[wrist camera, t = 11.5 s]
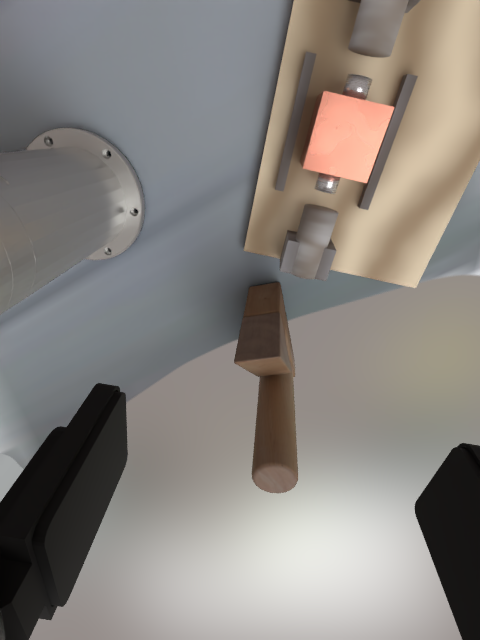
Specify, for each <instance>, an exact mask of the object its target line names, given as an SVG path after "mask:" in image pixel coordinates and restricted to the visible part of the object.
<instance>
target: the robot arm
mask: <svg viewBox="0 0 480 640" xmlns="http://www.w3.org/2000/svg"><path fill="white" fill-rule="evenodd" d="M52 140H53V142H52ZM109 151H110V152H111V156H110V155H109V153H108V152H109ZM135 208H136V209H137V210H138V213H137V212H136V211H135ZM144 216H145V202H144V195H143V191H142V187H141V184H140V181H139V179H138V177H137V175H136V173H135V171H134V169H133V168H132V166H131V165H130V163H129V161H128V160H127V159H126V158H125V156H124V155H123V154H122V153H121V152H120V151H119V150H118V149H117V148H116V147H115V146H113V145H112V144H111V143H110V142H108V141H107V140H106V139H104V138H102V137H100V136H98V135H97V134H95V133H92V132H89V131H86V130H83V129H76V128H57V129H53V130H49V131H46V132H44V133H42V134H41V135H39V136H37V137H36V138H35V139H34V140H33V141H32V142H31V143H30V144H29V145H28V147H27V149H26V150H25V151H14V152H3V153H0V315H1V314H2V313H4V312H5V311H7V310H8V309H10V308H11V307H13V306H14V305H16V304H18V303H19V302H21V301H22V300H24V299H25V298H27V297H28V296H30V295H31V294H33V293H34V292H36V291H37V290H39V289H40V288H42V287H43V286H45V285H46V284H48V283H49V282H51V281H52V280H54V279H55V278H57V277H58V276H60V275H61V274H63V273H64V272H66V271H67V270H69V269H70V268H72V267H73V266H75V265H76V264H78V263H79V262H81V261H82V260H84V259H88V260H105V259H109V258H112V257H115V256H117V255H119V254H121V253H123V252H124V251H125V250H126V249H128V248H129V247H130V246H131V245H132V244H133V243H134V241H135V240H136V239H137V237H138V235H139V233H140V232H141V229H142V226H143V222H144ZM110 249H111V250H110ZM126 423H127V422H126V395H125V393H123V392H120V388H119V386H113V385H107V384H101V383H98V384H96V385H95V386H94V388H93V389H92V391H91V392H90V394H89V395H88V396H87V398H86V399H85V401H84V402H83V404H82V405H81V407H80V408H79V410H78V411H77V413H76V414H75V416H74V417H73V419H72V420H71V422H70V423H69V425H68V426H67V427H57V428H55V429H54V430H53V431H52V432H51V433H50V434H49V435H48V437H47V438H46V440H45V441H44V442H43V444H42V445H41V447H40V448H39V449H38V451H37V452H36V454H35V455H34V456H33V458H32V459H31V460H30V462H29V463H28V465H27V466H26V467H25V469H24V470H23V472H22V473H21V474H20V476H19V477H18V479H17V480H16V481H15V483H14V484H13V486H12V487H11V488H10V490H9V491H8V493H7V494H6V495H5V497H4V498H3V500H2V501H1V502H0V640H29V638H30V636H31V634H32V631H33V629H34V627H35V625H36V623H37V621H38V619H39V618H40V619H46V620H51V619H52V617H53V615H54V612H55V610H56V608H57V606H61V607H63V606H64V605H65V604H66V602H67V600H68V598H69V596H70V594H71V592H72V589H73V587H74V585H75V583H76V580H77V578H78V575H79V573H80V571H81V568H82V566H83V564H84V561H85V559H86V557H87V554H88V552H89V550H90V547H91V545H92V543H93V540H94V538H95V536H96V533H97V531H98V529H99V526H100V524H101V522H102V519H103V517H104V515H105V512H106V510H107V508H108V505H109V503H110V501H111V498H112V496H113V493H114V491H115V489H116V486H117V484H118V482H119V480H120V477H121V475H122V472H123V470H124V468H125V465H126V461H127V455H128V452H127V424H126ZM415 514H416V517H417V519H418V522H419V525H420V528H421V530H422V533H423V536H424V538H425V541H426V544H427V546H428V549H429V552H430V554H431V557H432V560H433V562H434V565H435V568H436V570H437V573H438V576H439V578H440V581H441V584H442V586H443V589H444V591H445V594H446V597H447V600H448V602H449V605H450V608H451V610H452V613H453V616H454V618H455V621H456V624H457V626H458V629H459V632H460V634H461V637H462V639H463V640H480V446H478V445H472V444H466V443H462V444H460V445H459V446H458V447H455V448H453V449H452V450H451V452H450V453H449V455H448V456H447V458H446V459H445V461H444V462H443V463H442V465H441V466H440V468H439V469H438V471H437V472H436V474H435V475H434V477H433V478H432V479H431V481H430V482H429V484H428V485H427V487H426V488H425V490H424V491H423V492H422V494H421V495H420V497H419V498H418V500H417V501H416V503H415Z"/></svg>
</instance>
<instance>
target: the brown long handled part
mask: <svg viewBox="0 0 480 640" xmlns="http://www.w3.org/2000/svg"><path fill="white" fill-rule="evenodd" d="M234 363H235V364H237V365H239V366H241V367H242V368H244V369H246V370H247V371H249V372H251V373H253V374H254V375H256V376H258V377H260V382H259V394H258V395H259V396H258V406H257V418H256V430H255V442H254V454H253V466H252V479H253V481H254V483H255V484H256V486H258V487H259V488H260V489H262V490H264V491H267V492H270V493H283V492H287V491H289V490H291V489H292V488H294V487H295V485H296V483H297V481H298V466H297V445H296V426H295V405H294V385H293V377H295V364H294V356H293V350H292V344H291V339H290V334H289V328H288V322H287V317H286V313H285V306H284V301H283V295H282V290H281V285H280V283H279V282H276V283H270V284H264V285H258V286H252V287H250V288H249V291H248V296H247V301H246V306H245V311H244V316H243V319H242V324H241V329H240V334H239V339H238V344H237V349H236V354H235V359H234Z"/></svg>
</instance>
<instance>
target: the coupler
mask: <svg viewBox="0 0 480 640" xmlns="http://www.w3.org/2000/svg"><path fill="white" fill-rule="evenodd" d="M371 82H372V79H371V78H369V77H366V76H362V75H356V74H348V76H347V79H346V83H345V86H344V90H343V93H342V95H340V94H336V93H332V92H327V91H323V92H322V93H321V94H319V95H318V96H317V99H316V103H315V106H314V110H313V114H312V118H311V122H310V125H309V129H308V133H307V137H306V141H305V144H304V148H303V152H302V156H301V160H300V164H301V166H302V168H303V169H307V170H312V171H316V172H319V175H318V178H317V181H316V185H315V188H314V189H316V190H318V191H321V192H325V193H330V194H335V193H336V190H337V187H338V184H339V181H340V178H341V177H342V178H346V179H351V180H355V181H359V182H364V183H367V181H368V179H369V176H370V173H371V170H372V168H373V165H374V162H375V159H376V157H377V154H378V151H379V148H380V146H381V143H382V140H383V138H384V135H385V132H386V129H387V127H388V124H389V121H390V118H391V116H392V113H393V110H394V107H392V106H388V105H383V104H379V103H375V102H371V101H366V98H367V95H368V92H369V89H370V86H371Z"/></svg>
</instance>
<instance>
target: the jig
mask: <svg viewBox="0 0 480 640" xmlns="http://www.w3.org/2000/svg"><path fill="white" fill-rule="evenodd" d="M348 74H356V75H362V76H366V77H369V78H371V79H372V82H371V86H370V89H369V92H368V95H367V98H366V101H371V102H375V103H379V104H383V105H388V106H392V107H394V110H393V113H392V116H391V118H390V121H389V124H388V127H387V129H386V132H385V135H384V138H383V140H382V143H381V146H380V148H379V151H378V154H377V157H376V159H375V162H374V165H373V168H372V170H371V173H370V176H369V179H368V181H367V183H364V182H359V181H355V180H351V179H346V178H342V177H341V178H340V181H339V184H338V187H337V190H336V193H335V194H330V193H325V192H321V191H318V190H316V189H314V188H315V185H316V181H317V178H318V175H319V172H316V171H312V170H307V169H303V168H302V166H301V164H300V160H301V156H302V152H303V148H304V144H305V141H306V137H307V133H308V129H309V125H310V122H311V118H312V114H313V110H314V106H315V103H316V99H317V96H318V95H319V94H321V93H322V92H323V91H327V92H332V93H336V94H340V95H342V93H343V90H344V86H345V83H346V79H347V76H348ZM479 160H480V0H294V2H293V7H292V12H291V17H290V22H289V27H288V32H287V37H286V42H285V47H284V52H283V57H282V62H281V67H280V72H279V77H278V82H277V87H276V92H275V97H274V102H273V107H272V112H271V117H270V122H269V127H268V132H267V137H266V142H265V147H264V152H263V157H262V162H261V167H260V172H259V177H258V182H257V187H256V192H255V197H254V202H253V207H252V212H251V217H250V222H249V227H248V232H247V237H246V242H245V247H244V251H247V252H252V253H256V254H261V255H266V256H270V257H275V258H279V259H280V271H281V272H286V273H291V274H293V275H295V276H297V277H300V278H305V279H318V280H323V281H326V280H327V277H328V274H329V271H330V270H334V271H339V272H344V273H348V274H353V275H357V276H362V277H367V278H371V279H376V280H380V281H385V282H390V283H394V284H399V285H403V286H408V287H413V288H416V286H417V284H418V282H419V280H420V278H421V276H422V274H423V272H424V270H425V268H426V266H427V264H428V262H429V260H430V258H431V256H432V254H433V252H434V250H435V248H436V246H437V244H438V242H439V240H440V238H441V236H442V234H443V232H444V230H445V228H446V226H447V224H448V222H449V220H450V218H451V216H452V214H453V212H454V210H455V208H456V206H457V204H458V202H459V200H460V198H461V196H462V194H463V192H464V190H465V188H466V186H467V184H468V182H469V180H470V178H471V176H472V174H473V172H474V170H475V168H476V166H477V164H478V162H479Z"/></svg>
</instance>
